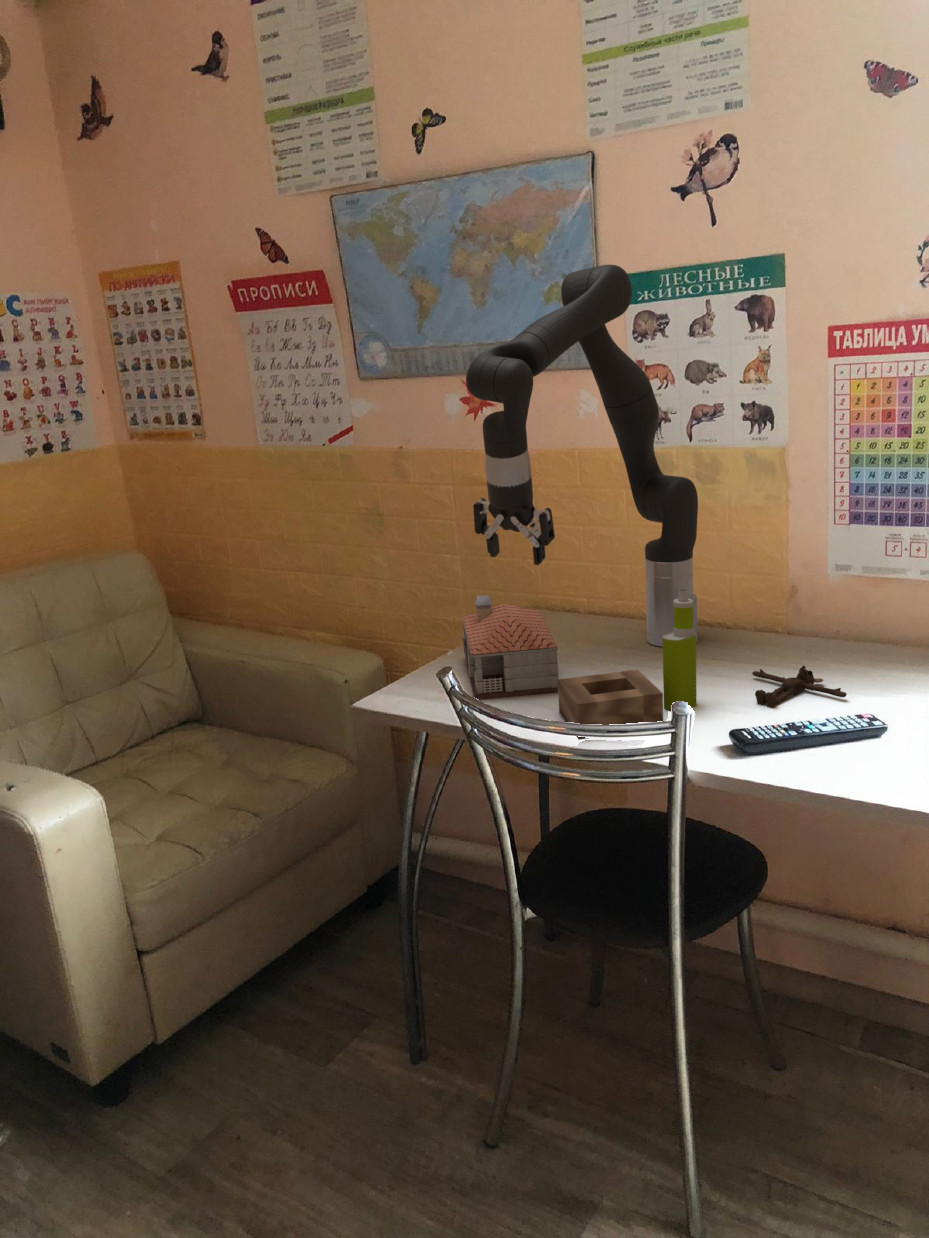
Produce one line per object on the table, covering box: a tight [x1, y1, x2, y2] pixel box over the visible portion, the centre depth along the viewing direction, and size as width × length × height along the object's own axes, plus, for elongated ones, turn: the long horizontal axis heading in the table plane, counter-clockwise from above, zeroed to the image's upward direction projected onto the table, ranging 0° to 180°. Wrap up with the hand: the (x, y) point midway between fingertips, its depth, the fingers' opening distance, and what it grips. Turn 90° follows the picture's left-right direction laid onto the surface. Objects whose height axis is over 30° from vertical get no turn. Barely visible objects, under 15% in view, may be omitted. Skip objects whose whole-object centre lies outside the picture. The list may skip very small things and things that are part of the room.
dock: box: [557, 669, 664, 741], centre depth 169 cm, size 14×12×6 cm
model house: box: [461, 594, 559, 701], centre depth 193 cm, size 24×16×15 cm, turn 4°
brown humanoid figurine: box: [751, 665, 848, 709], centre depth 175 cm, size 18×4×14 cm
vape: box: [662, 589, 698, 713], centre depth 171 cm, size 4×6×20 cm, turn 128°
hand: (516, 558), depth 180 cm, fingers open, 8 cm apart
